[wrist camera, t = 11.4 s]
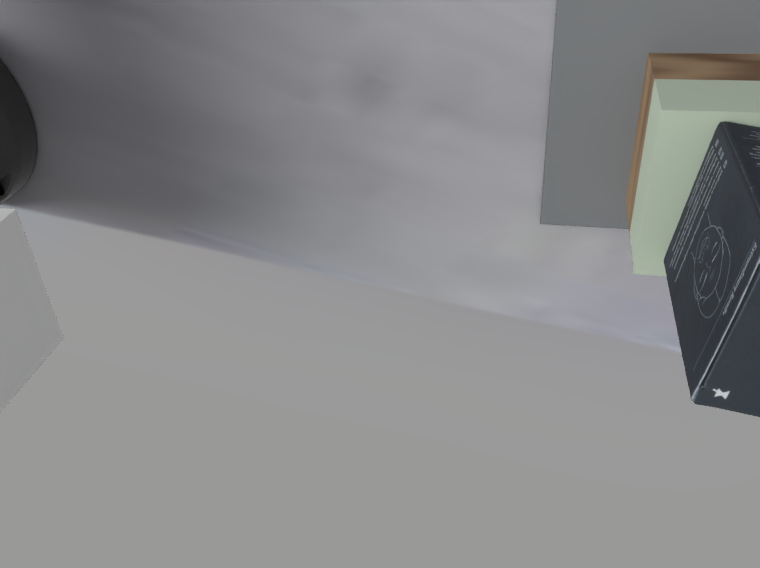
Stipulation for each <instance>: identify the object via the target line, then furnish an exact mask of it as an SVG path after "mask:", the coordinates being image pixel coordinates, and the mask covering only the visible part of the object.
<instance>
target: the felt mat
mask: <svg viewBox="0 0 760 568" xmlns="http://www.w3.org/2000/svg"><path fill="white" fill-rule="evenodd" d="M648 53H713V54H760V0H557V8H556V21H555V34H554V47H553V60H552V73H551V87H550V100H549V113H548V126H547V139H546V152H545V166H544V179H543V192H542V205H541V218H540V224H551V225H569V226H586V227H604V228H622V229H629V224H628V215H627V206H626V197H627V190H628V183H629V177H630V170H631V164H632V157H633V151H634V144H635V137H636V131H637V124H638V118H639V111H640V105H641V98H642V91H643V85H644V78H645V72H646V65H647V59H648Z"/></svg>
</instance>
